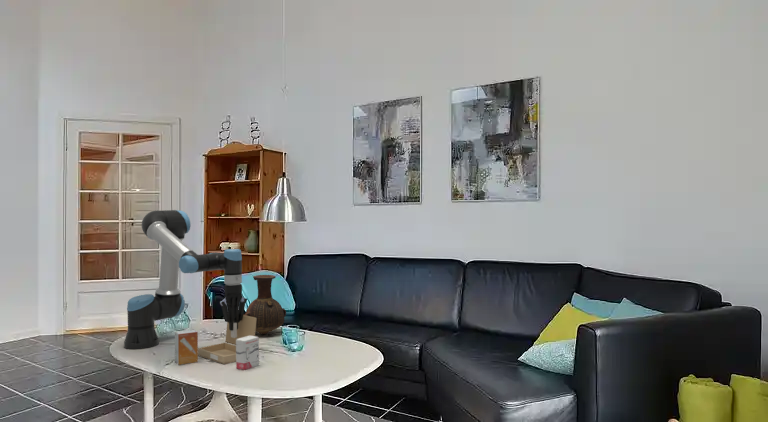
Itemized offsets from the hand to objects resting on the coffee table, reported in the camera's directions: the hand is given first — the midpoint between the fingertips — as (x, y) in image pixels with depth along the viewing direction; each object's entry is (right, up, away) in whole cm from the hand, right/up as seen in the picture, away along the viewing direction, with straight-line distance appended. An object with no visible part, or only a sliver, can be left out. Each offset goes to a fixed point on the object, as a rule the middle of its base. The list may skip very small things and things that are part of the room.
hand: (233, 337), depth 243 cm
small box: (-17, -8, -11) cm, 22 cm away
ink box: (+11, -8, -19) cm, 23 cm away
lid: (+2, +3, +2) cm, 4 cm away
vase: (+5, -8, +39) cm, 41 cm away
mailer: (-3, -8, -3) cm, 9 cm away
